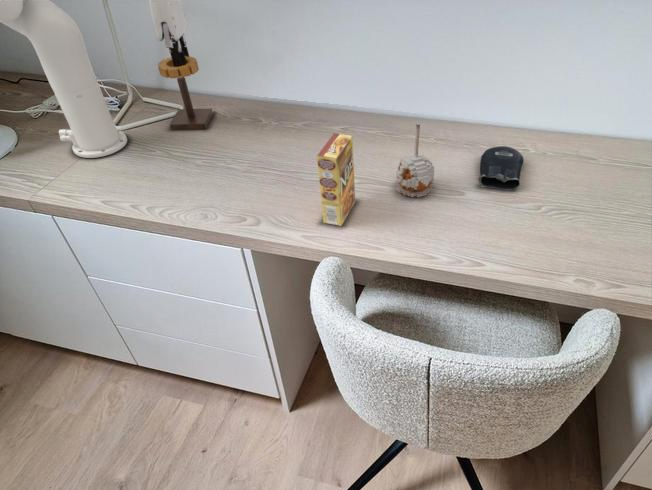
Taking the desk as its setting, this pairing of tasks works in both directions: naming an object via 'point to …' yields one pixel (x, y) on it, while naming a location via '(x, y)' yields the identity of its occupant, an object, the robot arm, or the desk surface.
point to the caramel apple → (415, 172)
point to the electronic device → (500, 168)
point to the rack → (189, 112)
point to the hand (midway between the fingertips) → (182, 65)
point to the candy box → (336, 178)
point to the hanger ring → (178, 68)
